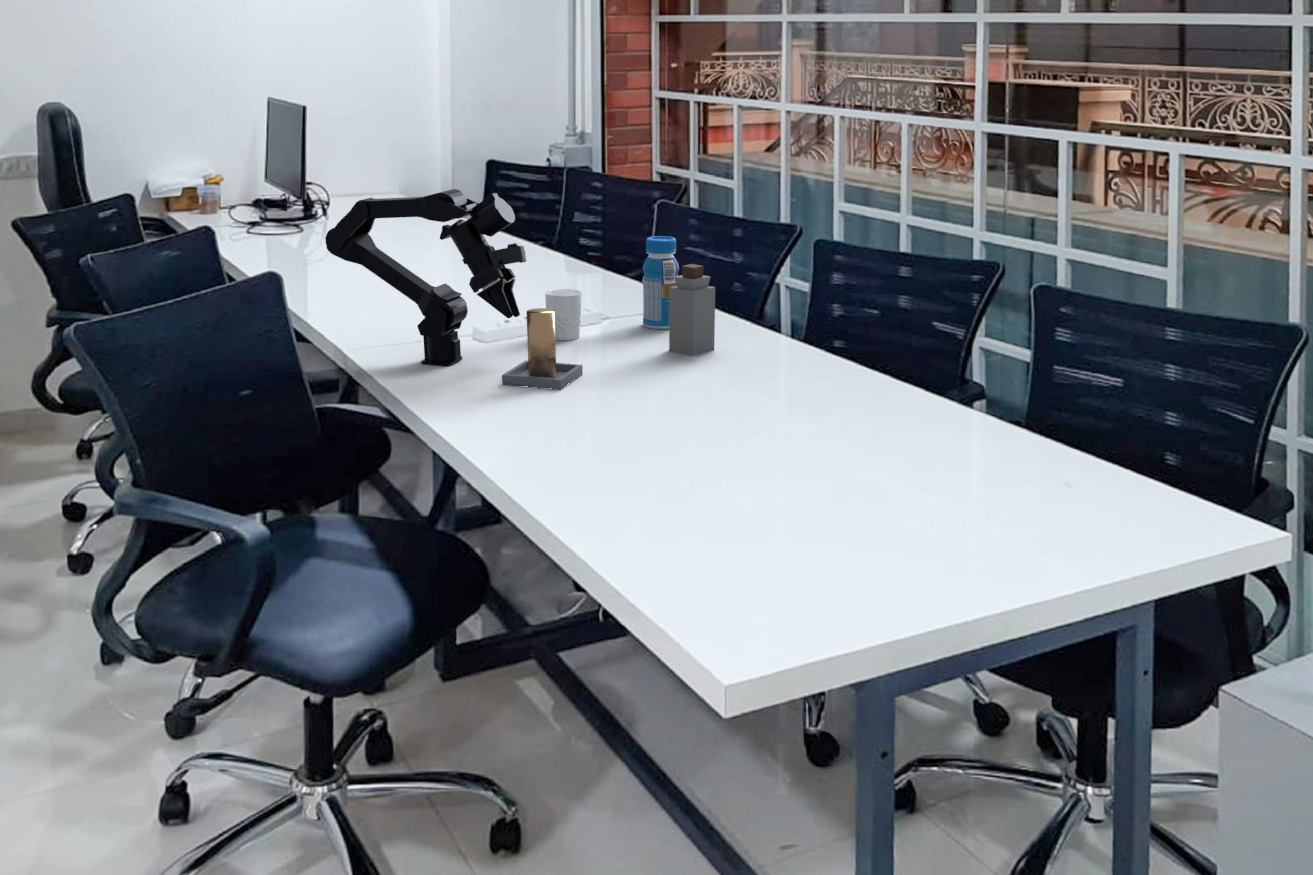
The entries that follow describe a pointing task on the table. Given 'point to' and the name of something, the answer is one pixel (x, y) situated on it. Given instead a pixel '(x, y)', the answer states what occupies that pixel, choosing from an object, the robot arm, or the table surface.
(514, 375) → the tray
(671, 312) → the perfume bottle
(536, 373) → the can
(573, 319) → the white cup
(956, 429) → the table surface
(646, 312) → the beverage bottle
